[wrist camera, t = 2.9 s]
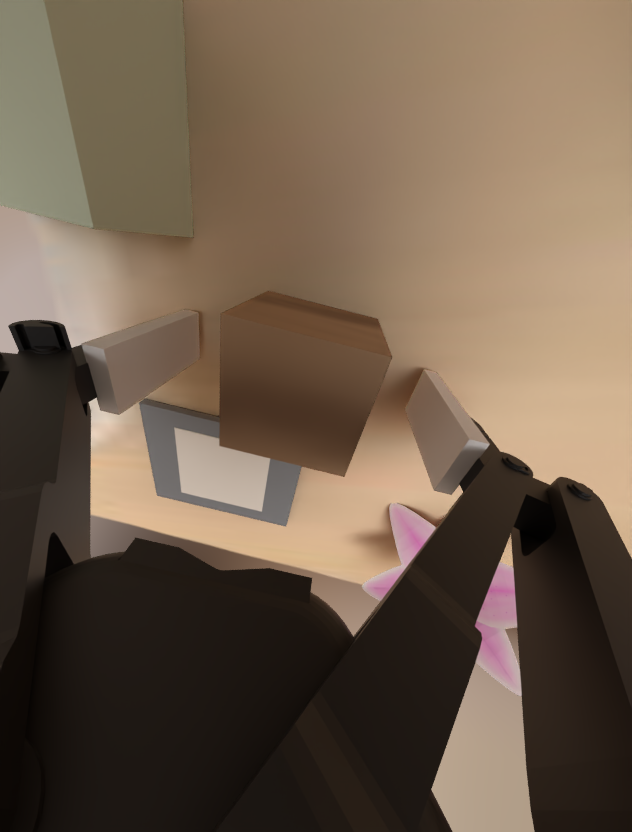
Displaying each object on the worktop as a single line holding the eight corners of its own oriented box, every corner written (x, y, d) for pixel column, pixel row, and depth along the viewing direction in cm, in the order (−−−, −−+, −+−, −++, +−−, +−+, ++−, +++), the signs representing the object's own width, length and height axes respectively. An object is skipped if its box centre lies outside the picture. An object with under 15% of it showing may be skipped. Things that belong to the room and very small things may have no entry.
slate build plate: (144, 398, 18) (138, 403, 18) (308, 439, 19) (306, 444, 18) (161, 490, 24) (156, 496, 23) (287, 520, 24) (285, 527, 24)
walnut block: (268, 290, 14) (220, 313, 9) (377, 318, 14) (392, 357, 9) (258, 388, 17) (219, 445, 12) (346, 410, 17) (344, 476, 12)
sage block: (-14, -53, 9) (-483, -443, 4) (184, 0, 9) (-25, -315, 4) (55, 202, 13) (-137, 171, 8) (194, 237, 13) (93, 228, 8)
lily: (533, 528, 22) (636, 617, 13) (466, 631, 24) (514, 772, 15) (402, 463, 25) (411, 499, 16) (350, 561, 27) (331, 645, 18)
